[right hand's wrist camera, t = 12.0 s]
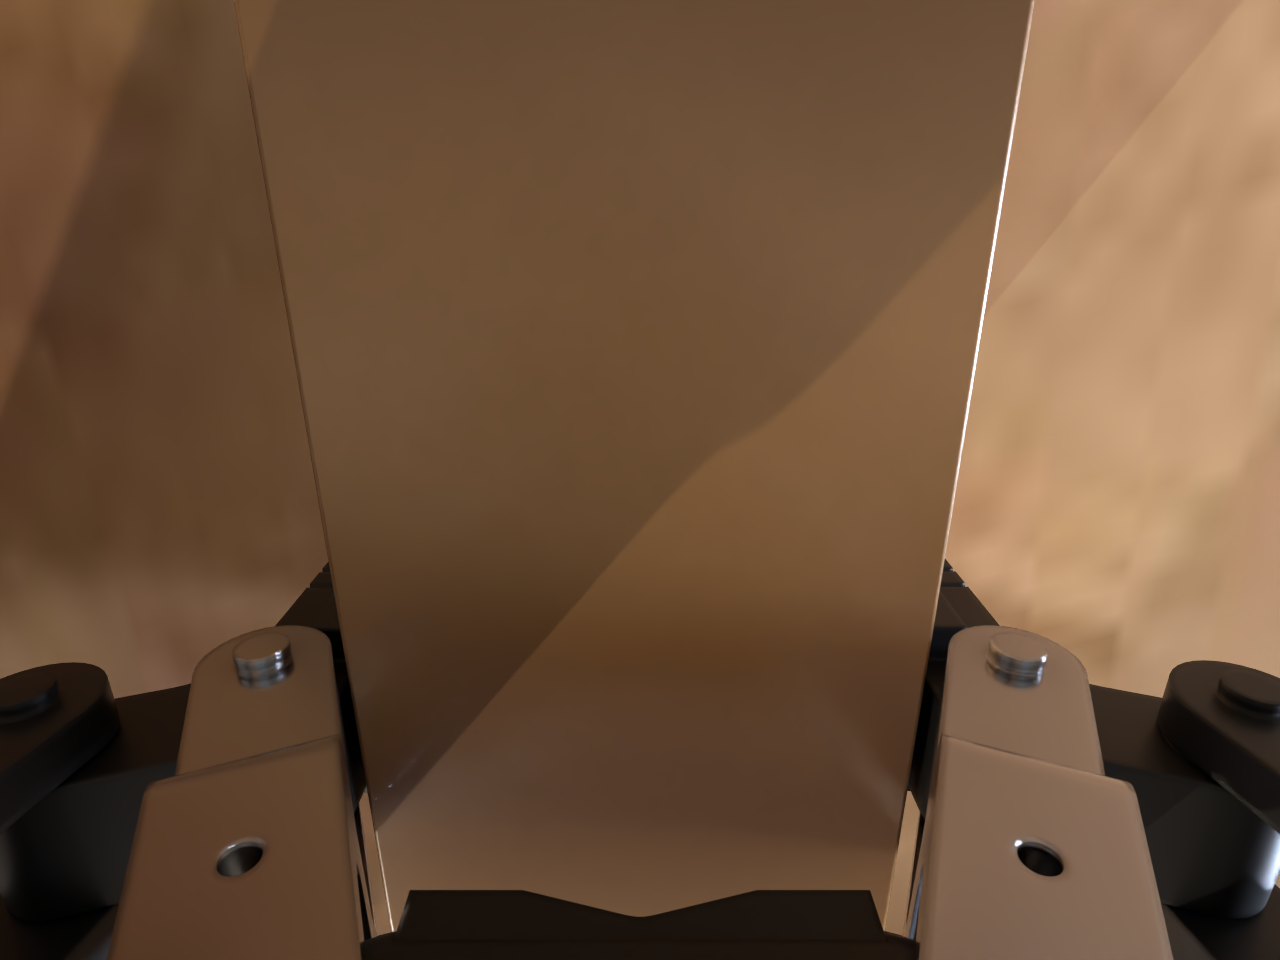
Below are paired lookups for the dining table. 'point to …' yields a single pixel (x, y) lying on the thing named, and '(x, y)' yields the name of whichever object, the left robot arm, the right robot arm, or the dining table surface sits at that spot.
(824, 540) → the bar
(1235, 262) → the dining table surface
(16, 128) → the dining table surface
